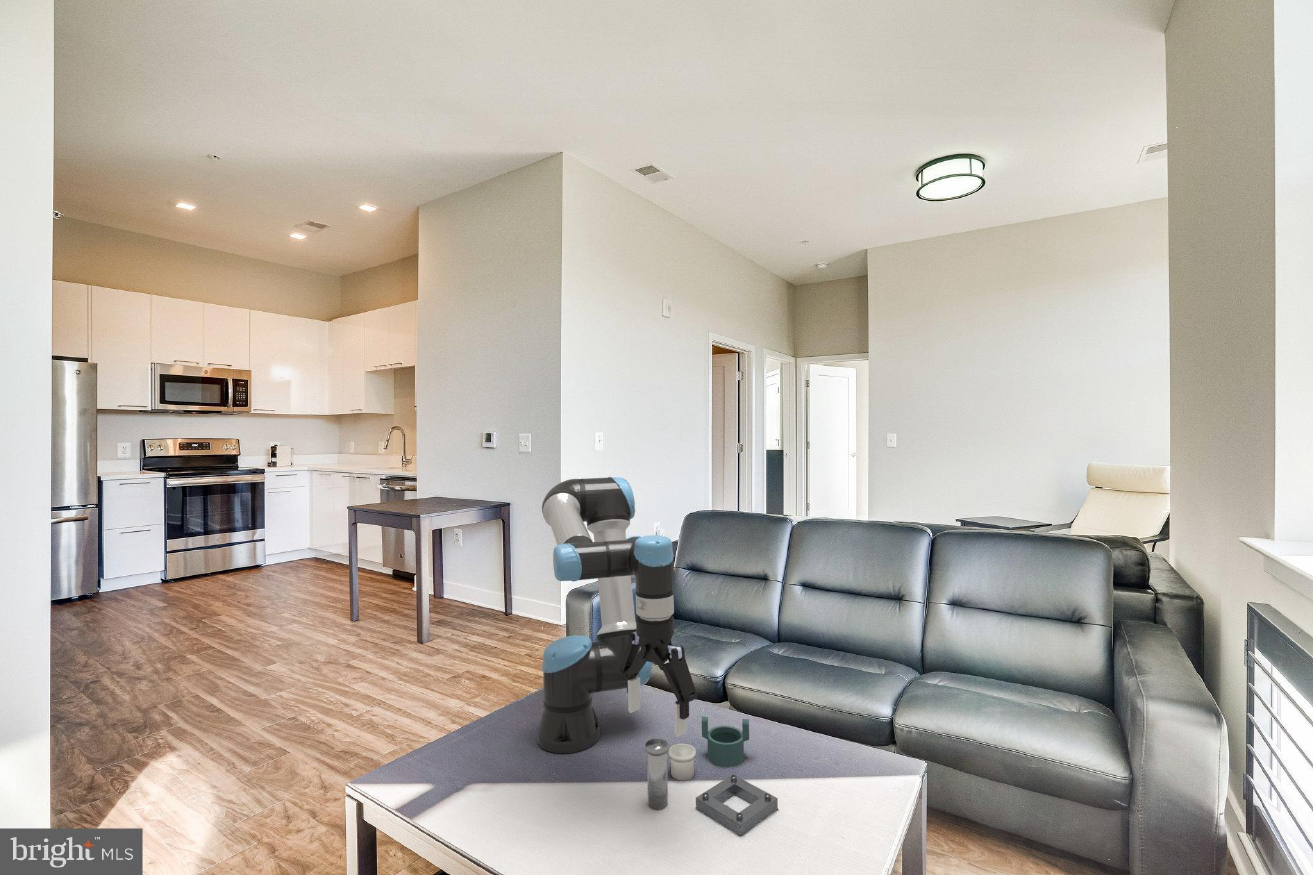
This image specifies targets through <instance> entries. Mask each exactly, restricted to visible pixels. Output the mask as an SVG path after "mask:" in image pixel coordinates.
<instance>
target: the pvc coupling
mask: <svg viewBox="0 0 1313 875" xmlns="http://www.w3.org/2000/svg"><path fill="white" fill-rule="evenodd" d="M696 754H697V752H696V748H695V747H694V746H692V745H691V744H687V743H677V744H673V745H672V746H671V747H669V750H668V756H669V759H670V774H671V778H673V779H675V780H679V781H688V780H690V779H692V778H693V777H694V775H695V759H696V757H697V755H696Z"/></svg>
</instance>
